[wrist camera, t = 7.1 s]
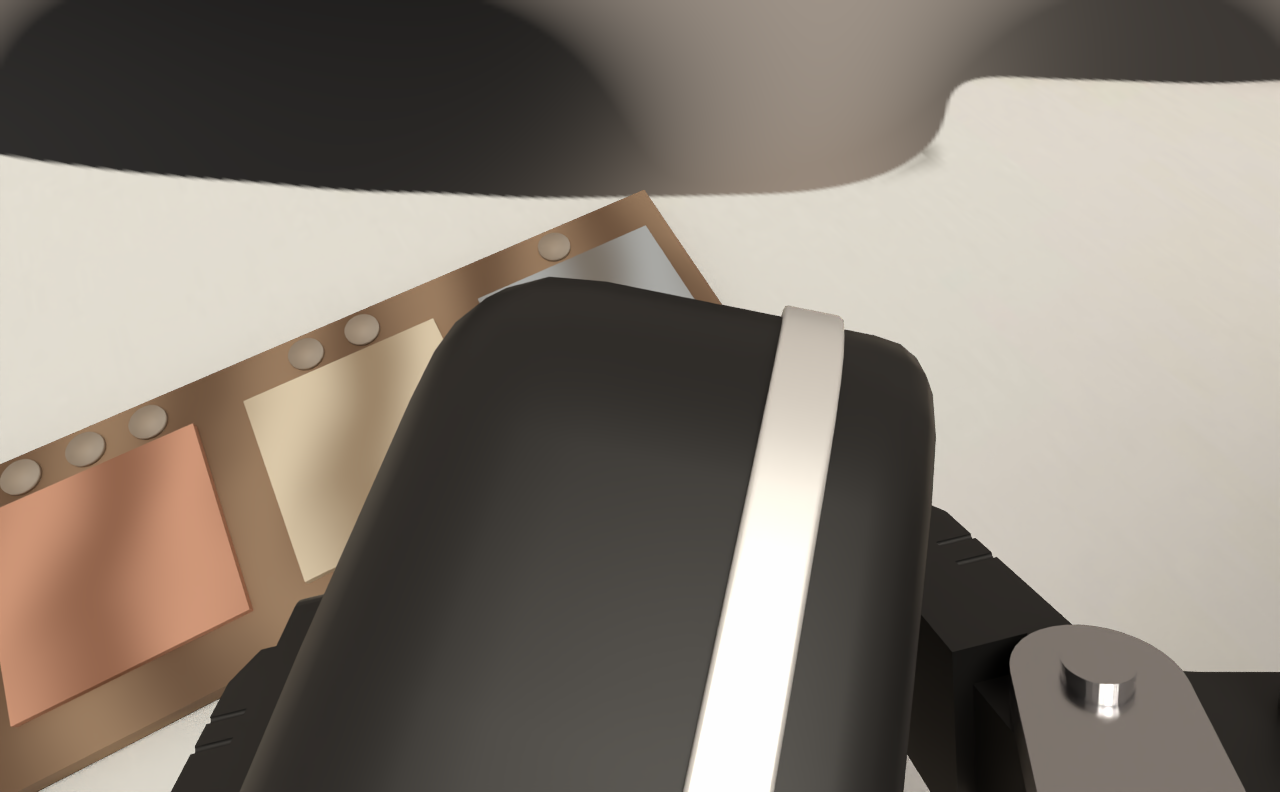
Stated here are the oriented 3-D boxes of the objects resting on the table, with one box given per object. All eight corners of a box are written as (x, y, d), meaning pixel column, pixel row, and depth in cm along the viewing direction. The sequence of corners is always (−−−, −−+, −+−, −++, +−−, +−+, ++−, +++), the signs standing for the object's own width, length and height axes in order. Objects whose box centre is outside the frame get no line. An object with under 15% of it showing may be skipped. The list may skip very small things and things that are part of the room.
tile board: (644, 204, 35) (644, 185, 34) (782, 410, 31) (788, 397, 30) (-31, 494, 30) (-60, 484, 28) (18, 801, 25) (-13, 803, 24)
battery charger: (589, 538, 16) (428, 128, 5) (771, 584, 15) (980, 224, 5) (473, 929, 13) (-335, 1648, 3) (691, 1003, 12) (787, 2302, 2)
